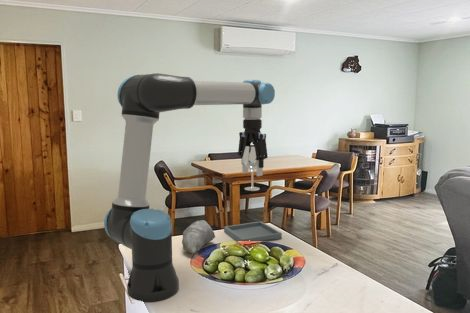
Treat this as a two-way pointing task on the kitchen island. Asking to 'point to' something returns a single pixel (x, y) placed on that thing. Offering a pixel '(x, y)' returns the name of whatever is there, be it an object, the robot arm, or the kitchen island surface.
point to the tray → (252, 232)
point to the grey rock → (197, 236)
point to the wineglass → (250, 163)
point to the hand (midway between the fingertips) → (252, 174)
